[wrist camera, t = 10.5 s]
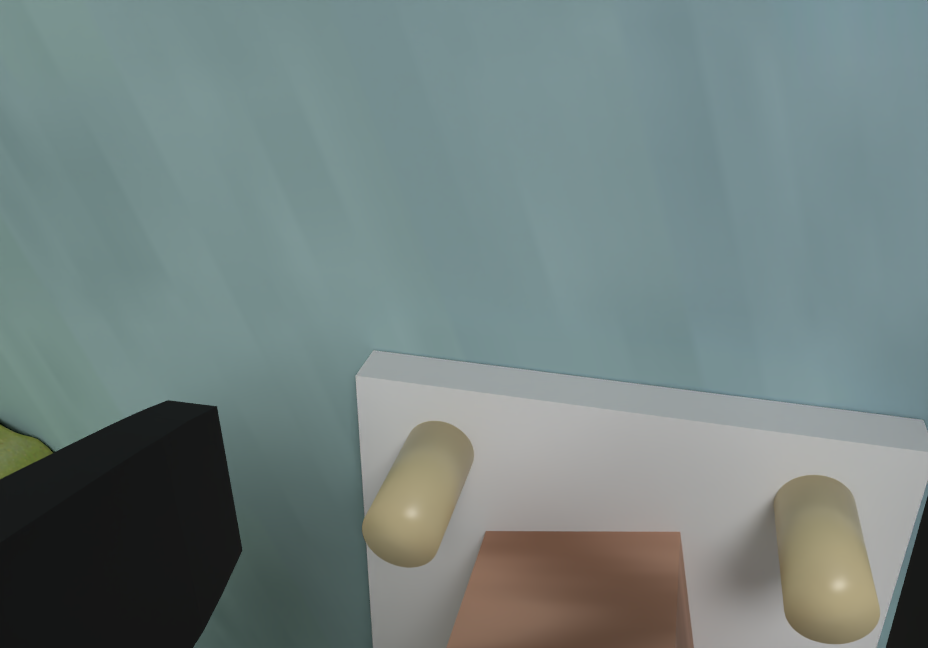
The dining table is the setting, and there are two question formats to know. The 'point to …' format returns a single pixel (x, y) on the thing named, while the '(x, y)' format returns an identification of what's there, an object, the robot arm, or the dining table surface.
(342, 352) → the dining table surface
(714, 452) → the standoff plate
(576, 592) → the board block
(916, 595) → the robot arm
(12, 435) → the plant pot
